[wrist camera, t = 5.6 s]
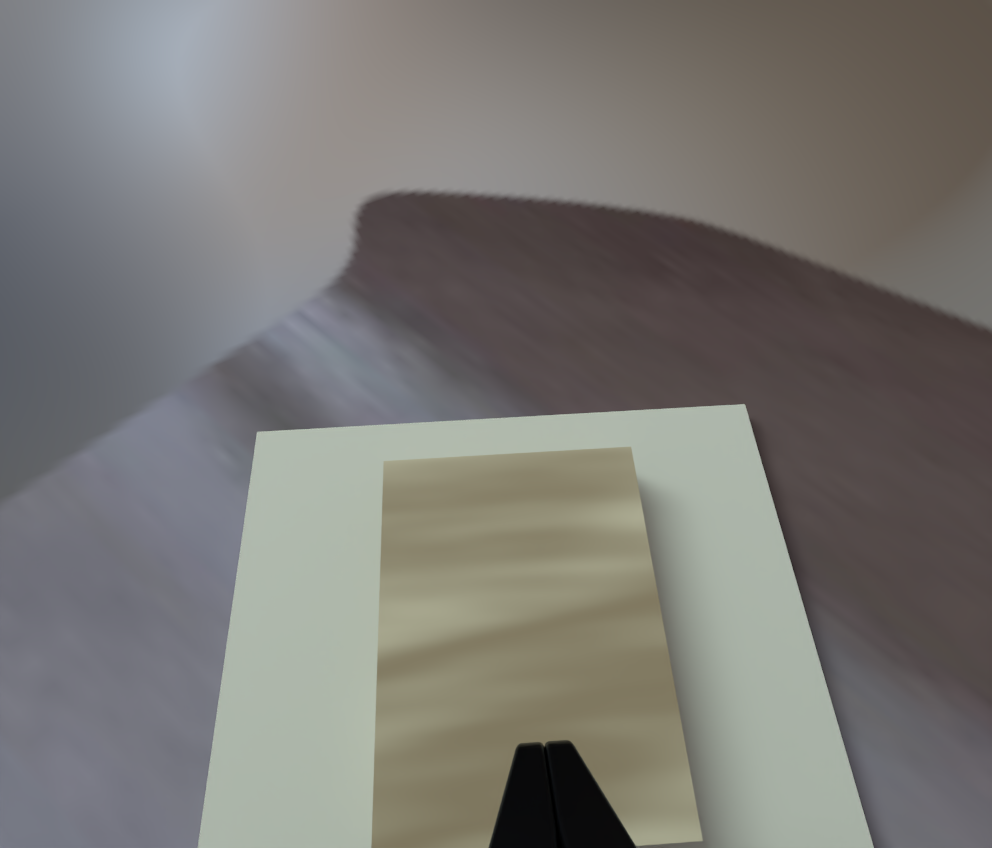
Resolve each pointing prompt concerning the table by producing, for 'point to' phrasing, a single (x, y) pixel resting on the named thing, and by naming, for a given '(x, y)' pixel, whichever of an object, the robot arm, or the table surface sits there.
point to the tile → (520, 644)
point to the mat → (683, 601)
